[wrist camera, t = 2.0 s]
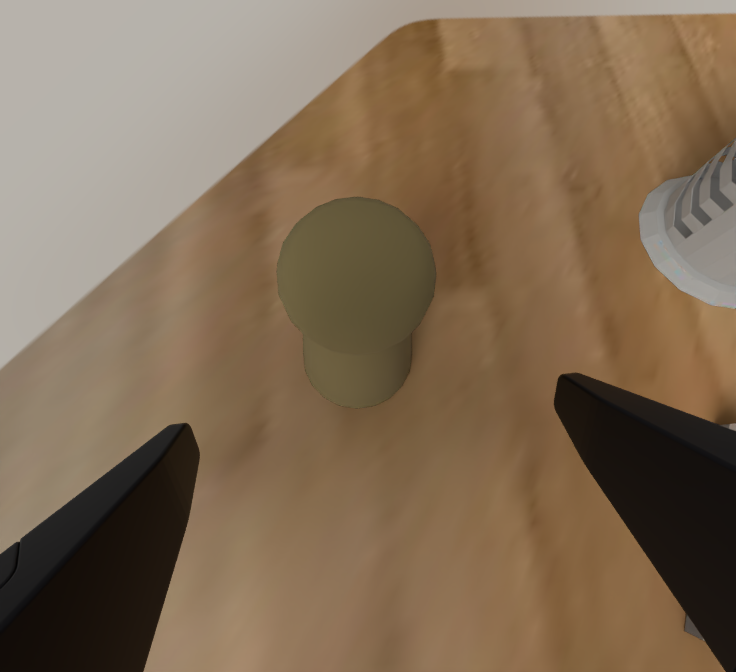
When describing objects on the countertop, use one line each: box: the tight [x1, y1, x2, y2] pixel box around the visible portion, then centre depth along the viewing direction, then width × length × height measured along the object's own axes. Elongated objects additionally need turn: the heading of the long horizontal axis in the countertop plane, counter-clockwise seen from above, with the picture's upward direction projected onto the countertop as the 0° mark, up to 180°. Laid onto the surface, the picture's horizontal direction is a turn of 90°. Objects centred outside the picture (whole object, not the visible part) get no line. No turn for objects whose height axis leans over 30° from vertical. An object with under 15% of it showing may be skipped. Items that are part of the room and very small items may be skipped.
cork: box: [277, 197, 436, 409], centre depth 16 cm, size 6×6×11 cm
